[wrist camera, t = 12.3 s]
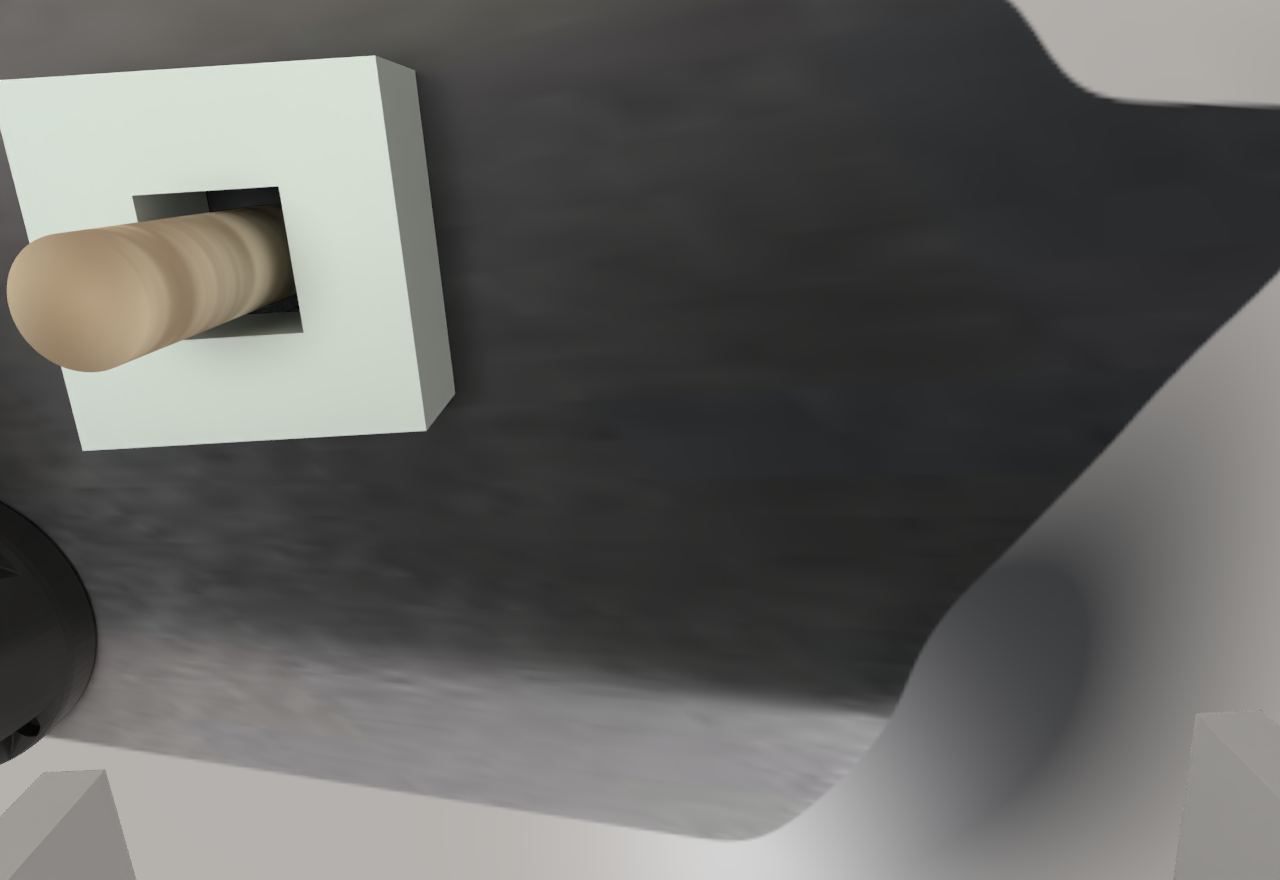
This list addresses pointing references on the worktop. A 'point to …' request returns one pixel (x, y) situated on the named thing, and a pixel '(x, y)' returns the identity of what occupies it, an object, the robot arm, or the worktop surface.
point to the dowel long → (146, 283)
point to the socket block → (316, 231)
